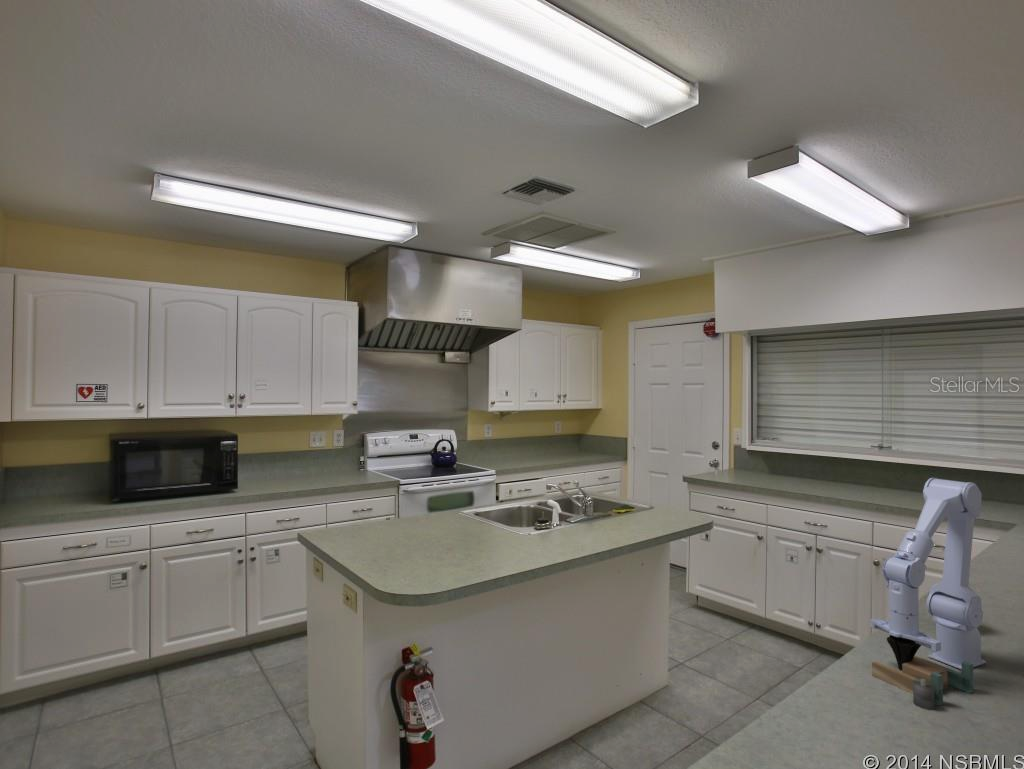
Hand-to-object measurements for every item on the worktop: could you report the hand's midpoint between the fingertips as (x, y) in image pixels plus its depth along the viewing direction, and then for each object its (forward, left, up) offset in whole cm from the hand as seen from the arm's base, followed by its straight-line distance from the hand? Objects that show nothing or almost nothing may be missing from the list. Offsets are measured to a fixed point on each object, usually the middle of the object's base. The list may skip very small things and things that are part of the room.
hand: (904, 670), depth 131 cm
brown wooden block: (0, +4, -1) cm, 5 cm away
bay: (+2, +4, -1) cm, 5 cm away
